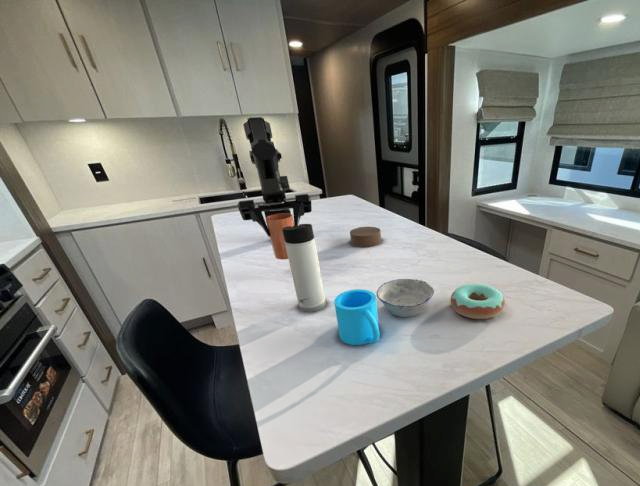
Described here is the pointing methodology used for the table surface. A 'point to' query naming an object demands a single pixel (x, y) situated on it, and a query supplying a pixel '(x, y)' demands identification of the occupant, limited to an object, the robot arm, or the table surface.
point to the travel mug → (304, 266)
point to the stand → (365, 236)
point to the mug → (357, 317)
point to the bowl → (405, 296)
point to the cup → (279, 232)
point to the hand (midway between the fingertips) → (282, 233)
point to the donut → (477, 301)
